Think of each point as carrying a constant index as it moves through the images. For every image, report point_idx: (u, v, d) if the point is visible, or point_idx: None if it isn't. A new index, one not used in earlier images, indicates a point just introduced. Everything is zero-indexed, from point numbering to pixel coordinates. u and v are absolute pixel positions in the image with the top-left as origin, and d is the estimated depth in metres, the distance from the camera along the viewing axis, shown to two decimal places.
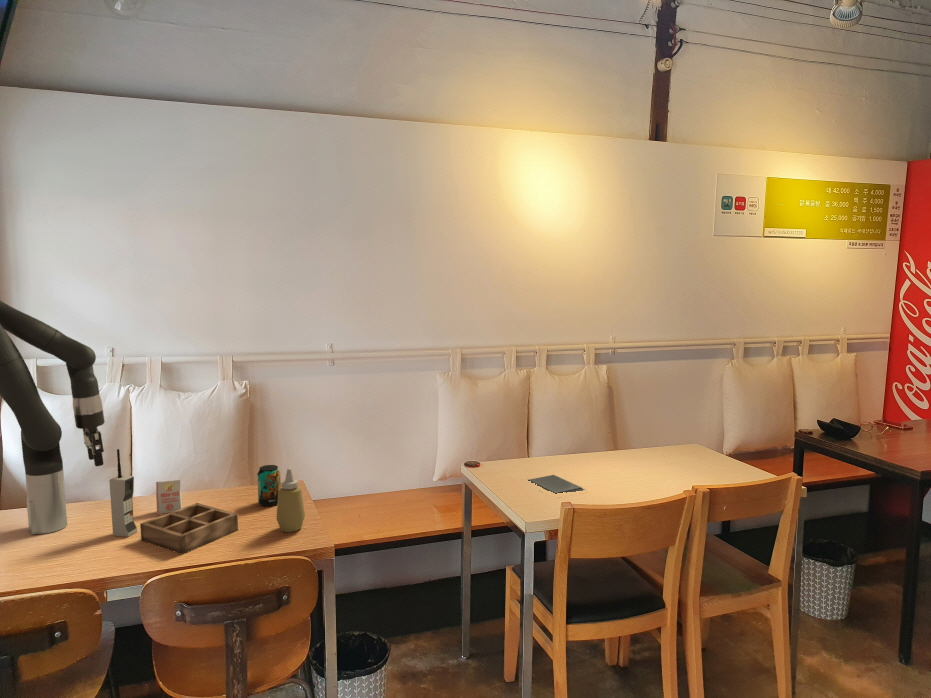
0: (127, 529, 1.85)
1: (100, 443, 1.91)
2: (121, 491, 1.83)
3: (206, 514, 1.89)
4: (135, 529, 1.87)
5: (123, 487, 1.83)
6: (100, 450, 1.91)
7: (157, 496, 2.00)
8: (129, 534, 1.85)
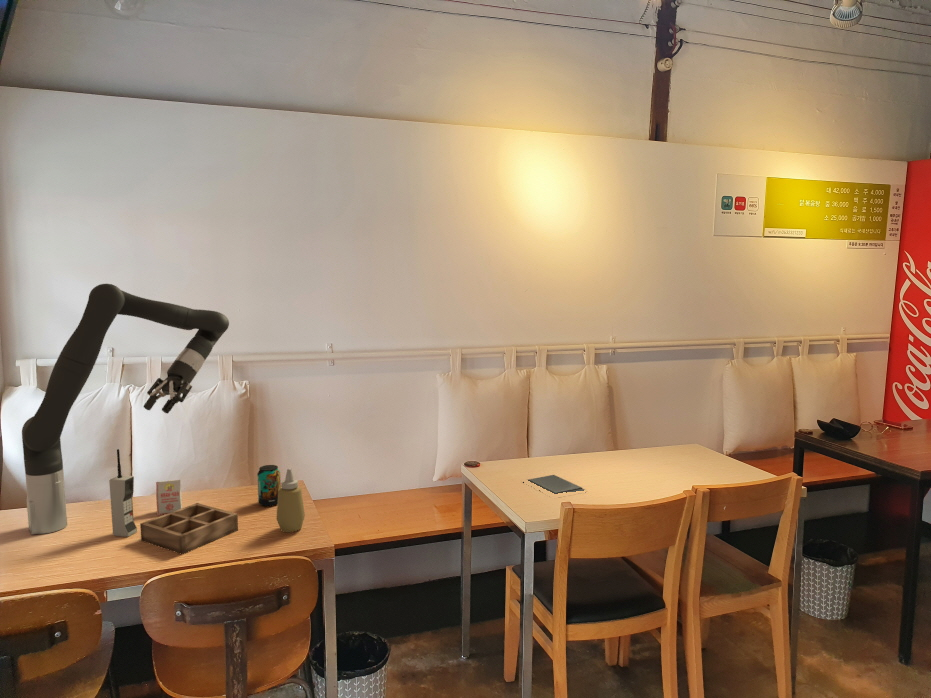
0: (127, 529, 1.85)
1: (186, 393, 1.93)
2: (121, 491, 1.83)
3: (206, 514, 1.89)
4: (135, 529, 1.87)
5: (123, 487, 1.83)
6: (181, 399, 1.92)
7: (157, 496, 2.00)
8: (129, 534, 1.85)
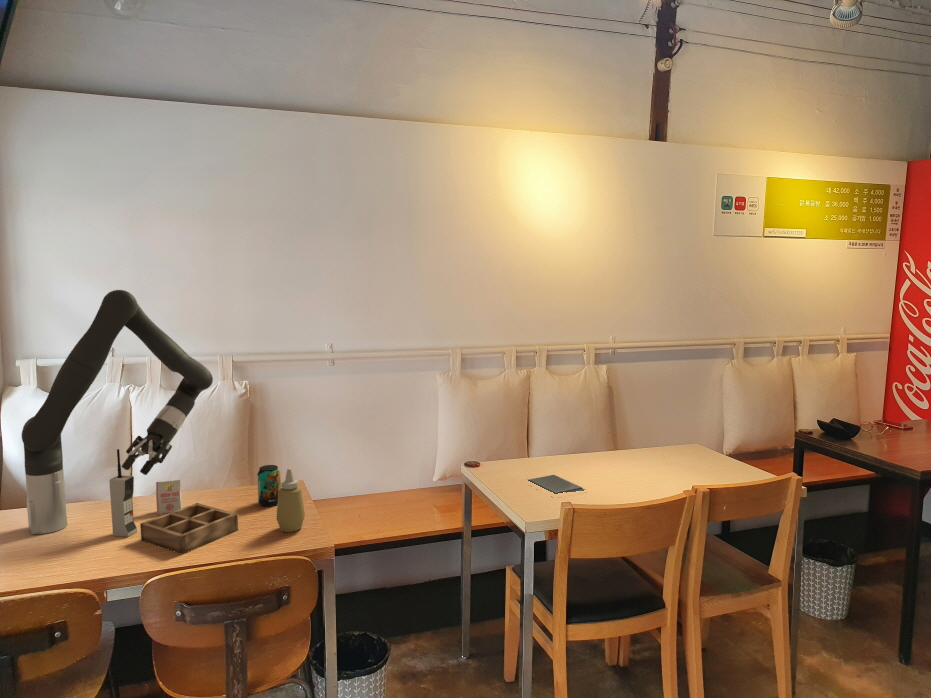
0: (127, 529, 1.85)
1: (165, 454, 1.88)
2: (121, 491, 1.83)
3: (206, 514, 1.89)
4: (135, 529, 1.87)
5: (123, 487, 1.83)
6: (160, 459, 1.87)
7: (157, 496, 2.00)
8: (129, 534, 1.85)
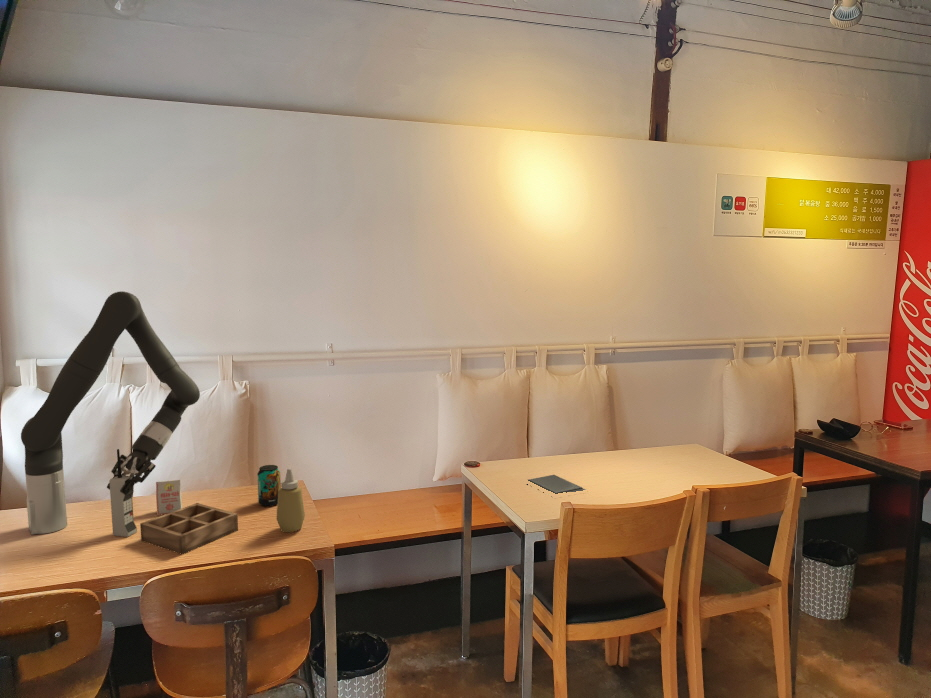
0: (127, 529, 1.85)
1: (147, 474, 1.84)
2: None
3: (206, 514, 1.89)
4: (135, 529, 1.87)
5: None
6: (141, 479, 1.83)
7: (157, 496, 2.00)
8: (129, 534, 1.85)
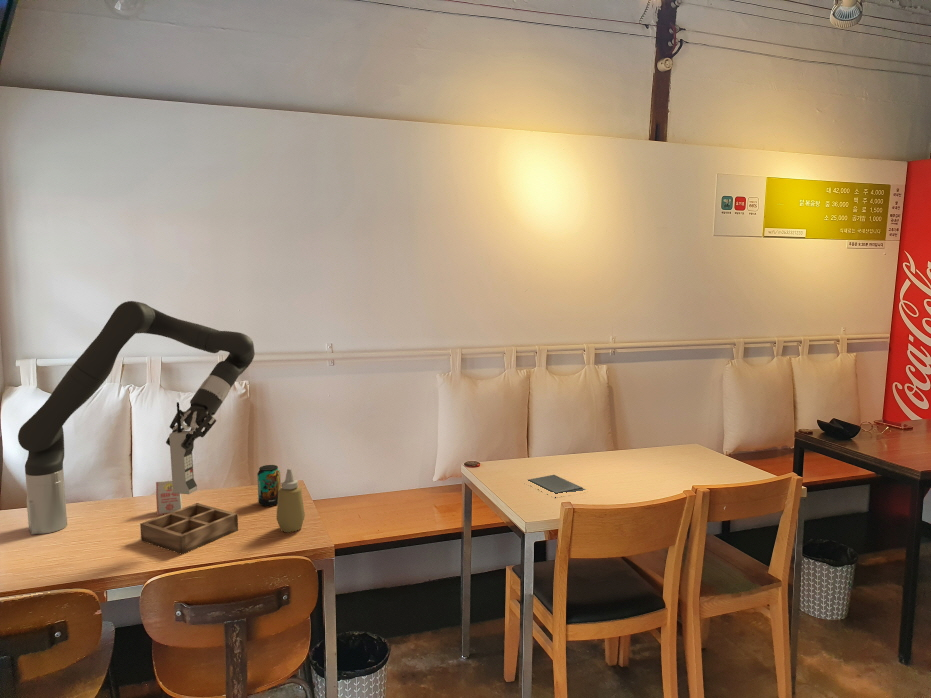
0: (188, 486, 1.76)
1: (208, 428, 1.76)
2: None
3: (206, 514, 1.89)
4: (195, 487, 1.79)
5: None
6: (202, 433, 1.75)
7: (157, 496, 2.00)
8: (190, 491, 1.77)
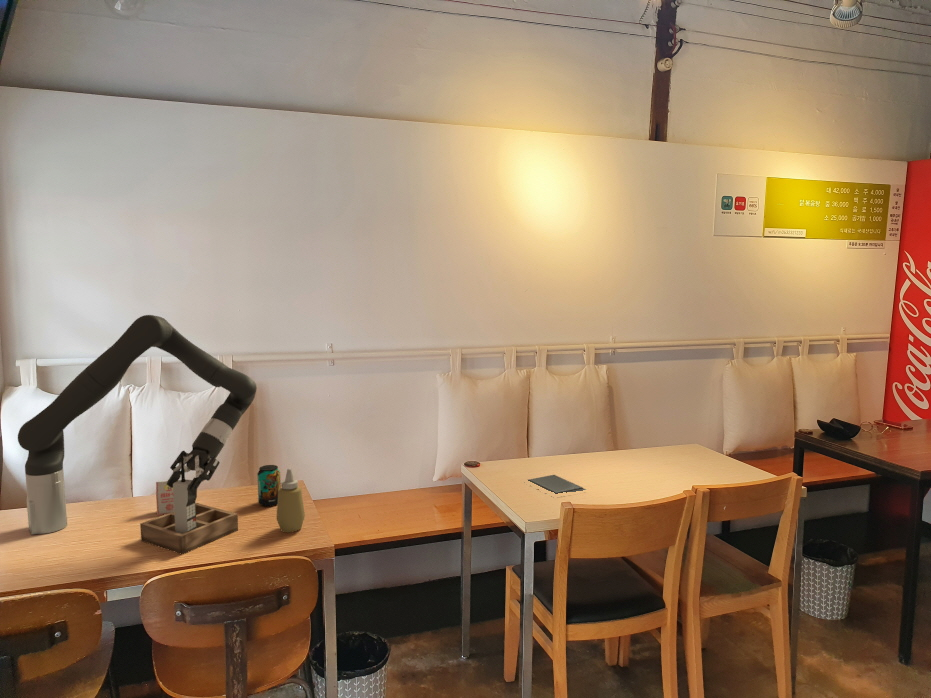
0: None
1: (213, 470, 1.78)
2: (184, 495, 1.76)
3: (206, 514, 1.89)
4: None
5: (186, 492, 1.76)
6: (208, 477, 1.76)
7: (157, 496, 2.00)
8: None
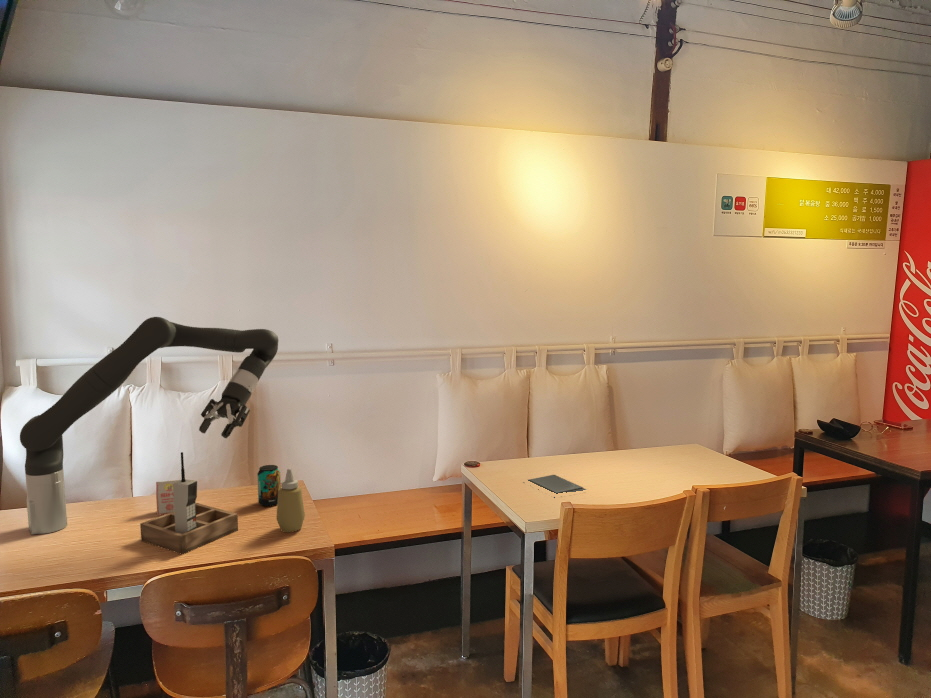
0: None
1: (244, 417, 1.89)
2: (184, 495, 1.76)
3: (206, 514, 1.89)
4: None
5: (186, 492, 1.76)
6: (240, 423, 1.88)
7: (157, 496, 2.00)
8: None
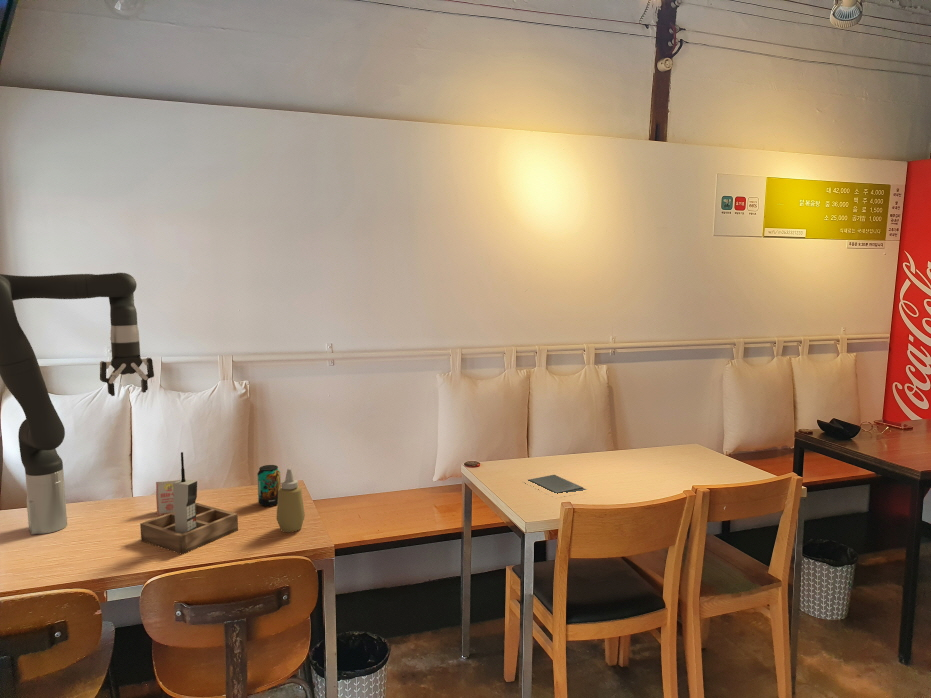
0: None
1: None
2: (184, 495, 1.76)
3: (206, 514, 1.89)
4: None
5: (186, 492, 1.76)
6: None
7: (157, 496, 2.00)
8: None
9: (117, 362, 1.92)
